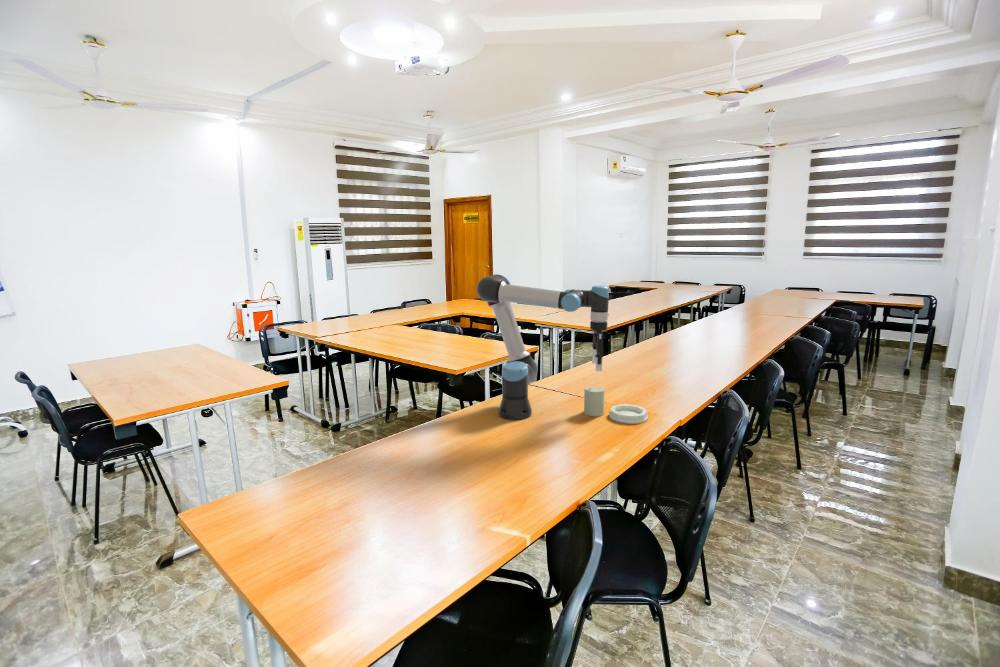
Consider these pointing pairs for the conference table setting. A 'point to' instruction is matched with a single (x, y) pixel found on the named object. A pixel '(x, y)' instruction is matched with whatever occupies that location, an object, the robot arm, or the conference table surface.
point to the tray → (628, 414)
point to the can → (594, 401)
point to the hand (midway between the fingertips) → (596, 367)
